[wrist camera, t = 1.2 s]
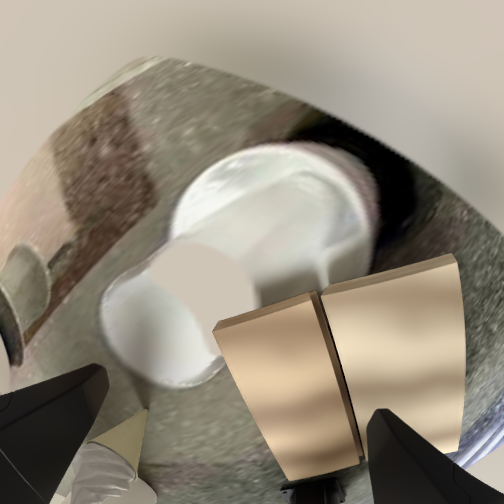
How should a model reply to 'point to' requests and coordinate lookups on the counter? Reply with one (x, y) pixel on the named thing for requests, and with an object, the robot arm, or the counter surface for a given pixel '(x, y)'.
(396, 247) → the counter surface
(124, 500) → the tall pillar cylinder
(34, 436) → the robot arm
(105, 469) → the ice cream cone
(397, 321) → the oak plank
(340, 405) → the floor strip
